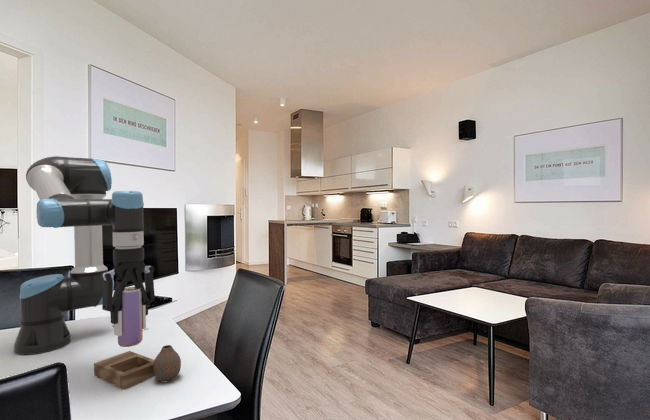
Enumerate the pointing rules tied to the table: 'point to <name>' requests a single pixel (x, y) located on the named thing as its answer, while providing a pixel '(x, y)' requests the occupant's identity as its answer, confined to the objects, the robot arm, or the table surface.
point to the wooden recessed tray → (125, 369)
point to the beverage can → (131, 317)
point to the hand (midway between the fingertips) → (130, 331)
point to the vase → (167, 364)
